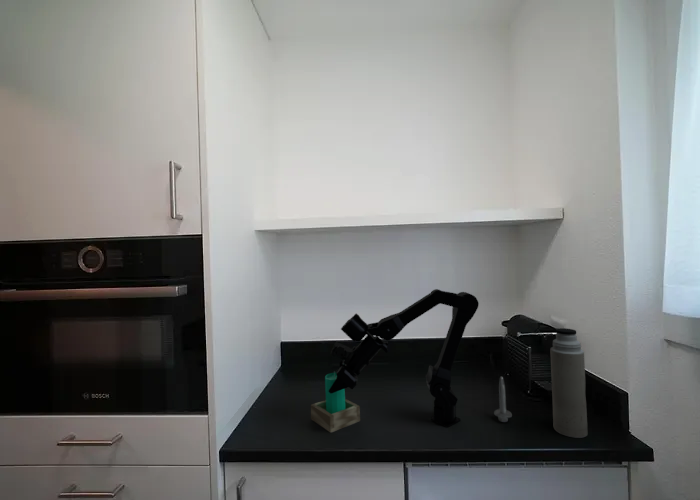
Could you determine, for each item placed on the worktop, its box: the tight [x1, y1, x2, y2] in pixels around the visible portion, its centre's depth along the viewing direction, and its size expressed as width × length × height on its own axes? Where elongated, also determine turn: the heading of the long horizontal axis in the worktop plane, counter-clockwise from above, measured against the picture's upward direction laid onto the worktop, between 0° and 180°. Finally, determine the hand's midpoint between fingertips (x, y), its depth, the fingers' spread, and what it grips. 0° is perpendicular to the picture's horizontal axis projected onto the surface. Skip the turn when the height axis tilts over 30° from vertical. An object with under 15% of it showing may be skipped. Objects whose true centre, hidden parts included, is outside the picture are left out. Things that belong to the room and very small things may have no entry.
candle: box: [324, 370, 346, 414], centre depth 107 cm, size 6×6×12 cm
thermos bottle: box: [549, 327, 588, 439], centre depth 97 cm, size 8×8×28 cm
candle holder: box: [310, 398, 361, 433], centre depth 107 cm, size 11×11×4 cm
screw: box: [493, 376, 513, 423], centre depth 104 cm, size 13×5×5 cm
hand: (330, 388), depth 107 cm, fingers closed on candle, 5 cm apart
